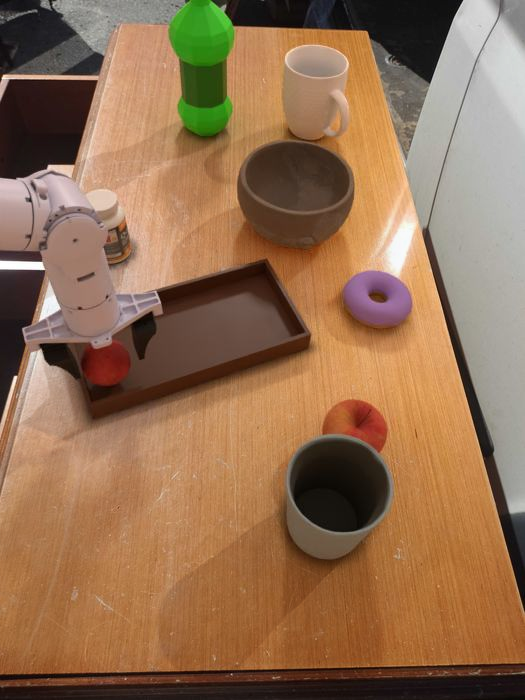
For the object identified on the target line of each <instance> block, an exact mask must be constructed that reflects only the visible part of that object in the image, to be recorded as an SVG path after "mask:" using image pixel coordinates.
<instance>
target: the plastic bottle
mask: <svg viewBox="0 0 525 700" xmlns="http://www.w3.org/2000/svg"><path fill="white" fill-rule="evenodd" d="M235 31H236V30H235V28H234V25H233V22H232V20H231V19H230V18H229V16H228V15H227V14H226V13H225V12H224V11H223V10H222V9H221V8H220V7H219V6H218V5H217V4H215V3H214V2H213V1H212V0H189V1H187V3H185V4H184V5H183V6H182V7H181V8H180V9H179V10H178V11H177V12H176V13H175V15H174V16H173V18H172V19H171V20H170V23H169V26H168V39H169V43H170V46H171V49H172V50H173V52H174V53H175V56H177V58H178V65H179V77H180V78H179V79H180V88H181V89H180V91H181V96H180V98H179V100H178V103H177V114H178V115H179V117H180V120H181V121H182V123H183V125H184V127H185V128H186V129H187V130H189V131H191V132H193V133H194V134H196V135H198V136H200V137H213V136H215V135H216V134H218V133H219V132H220V131H222V130H224V129H225V128H226V127H227V126H228V123H229V121H230V119H231V117H232V115H233V111H234V110H233V107H234V105H233V104H232V100H231V98H230V97H229V95H228V57H229V55H230V53H231V52H232V50H233V48H234V44H235V38H236V37H235V35H236V34H235V33H236V32H235Z"/></svg>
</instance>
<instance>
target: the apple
mask: <svg viewBox="0 0 525 700" xmlns="http://www.w3.org/2000/svg"><path fill="white" fill-rule="evenodd" d="M321 432H322V435H328V434H342V435H348V436H352V437H355V438H358V439H360V440H362V441H364V442H365V443H367V444H369V445H370V446H371V447H373V448H374V449H375V450H376V451H377V452H378V453H379V454H381V452H382V450H383V449H384V447H385V445H386V442H387V437H388V425H387V422H386V419H385V418H384V416H383V414H382V413H381V412H380V411H379V410H378V409H377V407H375V406H374V405H373V404H371V403H369V402H367V401H364V400H361V399H345V400H341V401H340V402H338V403H335V405H333V406H332V407H331V408H330V409H329V410H328V412H327V413H326V415H325V417H324V420H323V424H322V428H321Z"/></svg>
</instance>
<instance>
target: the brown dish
mask: <svg viewBox="0 0 525 700" xmlns="http://www.w3.org/2000/svg"><path fill="white" fill-rule="evenodd" d="M152 291H156V292H157V294H158V297H159V299H160V301H161V305H162V312H163V314H160V315H157V316H154V315H153V317H154V320H155V322H156V326H157V330H156V334H155V335H154V336H153V337H152V338H151V339H150V341H149V343H148V345H147V348H146V351H145V358H144V359H142V360H139V358H138V355H137V352H136V350H135V347H134V343H133V338H132V331H131V326H130V325H128V326H126V327H125V328H123V329H122V330H120V331H119V332H117V333H115V334H114V335H112V337H111V338H112V339H114V340H116V341H118V342H120V343H121V344H123V346H124V347H125V348H126V350H127V351H128V352H129V356H130V361H131V366H130V370H129V372H128V375H127V376H126V377H125V378H124V379H123V380H122V381H121V382H119V383H118V384H115V385H112V386H100V385H97V384H94V383H91V382H90V381H89V380H88V379H87V378H86V376H85V375H84V374H83V372H82V369H81V355H82V352H83V350H84V348H85V346H86V345H87V344H88V343H89V342H79V343H68V346H69V348H70V350H71V352H72V353H73V355H74V357H75V359H76V362H77V364H78V367H79V371H80V374H81V379H78V380H79V383H80V388H81V390H82V394H83V397H84V401H85V405H86V408H87V410H88V413H89V415H90V417H91V419H92V420H97V419H101V418H102V417H106V416H108V415H112V414H115V413H117V412H121V411H124V410H126V409H129V408H133V407H135V406H138V405H142V404H144V403H148V402H151V401H154V400H156V399H160V398H162V397H165V396H169V395H172V394H176V393H177V392H180V391H183V390H186V389H189V388H192V387H196V386H199V385H202V384H205V383H207V382H211V381H213V380H214V381H215V380H216V379H219V378H222V377H226V376H229V375H231V374H234V373H238V372H240V371H243V370H247V369H249V368H252V367H255V366H259V365H262V364H264V363H268V362H270V361H273V360H276V359H280V358H282V357H286V356H288V355H291V354H294V353H297V352H300V351H304V350H306V349H309V348H310V344H311V340H312V339H311V338H312V333H311V332H310V329H309V328H308V326H307V324H306V323H305V321H304V319H303V317H302V316H301V314H300V312H299V310H298V309H297V307H296V305H295V304H294V302H293V300H292V299H291V297H290V295H289V293H288V292H287V290H286V289H285V287H284V285H283V284H282V281H281V280H280V278H279V277H278V275H277V273H276V271H275V270H274V268H273V266H272V264H271V263H270V261H269V260H268V258H267V257H266V258H262V259H258V260H255V261H252V262H249V263H244V264H241V265H237V266H234V267H230V268H226V269H224V270H220V271H219V270H218V271H216V272H213V273H209V274H206V275H201V276H198V277H194V278H191V279H188V280H187V279H186V280H184V281H181V282H177V283H174V284H170V285H167V286H163V287H160V288H155V289H152V290H149V291H145V292H144V293H148V292H152Z"/></svg>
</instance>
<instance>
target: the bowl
mask: <svg viewBox="0 0 525 700" xmlns="http://www.w3.org/2000/svg"><path fill="white" fill-rule="evenodd" d="M355 187H356V186H355V176H354V172H353V169H352V168H351V166H350V164H349V163H348V162H347V160H346V159H345V158H344V157H342V156H341V154H339V153H337V152H336V151H334V150H332V149H330V148H329V147H326V146H324V145H322V144H318V143H316V142H313V141H312V142H311V141H307V140H297V139H278V140H274V141H270V142H267V143H264V144H261V145H260V146H258V147H256V148H255V149H252V151H251V152H250V153H249V154H248V155H247V156H246V157H245V158H244V159H243V162H242V164H241V166H240V168H239V171H238V175H237V182H236V194H237V200H238V203H239V208H240V210H241V212H242V214H243V216H244V218H245V219H246V221H247V222H248V224H249V226H251V227H252V228H253V229H254V230H255V232H256V233H257V234H258V235H259V236H261V237H262V239H264V240H266V241H268V242H270V243H272V244H274V245H277V246H279V247H284V248H289V249H298V248H299V249H301V250H309V249H310V248H312V247H314V246H316V245H319V244H321V243H323V242H325V241H327V240H329V239H330V238H332V237H333V236H334V235H335V234H336V233H337V232H338V231H340V228H342V227H343V225H344V223H345V222H346V221H347V219H348V217H349V216H350V213H351V212H352V211H351V210H352V208H353V203H354V200H355V192H356V191H355V189H356V188H355Z"/></svg>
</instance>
